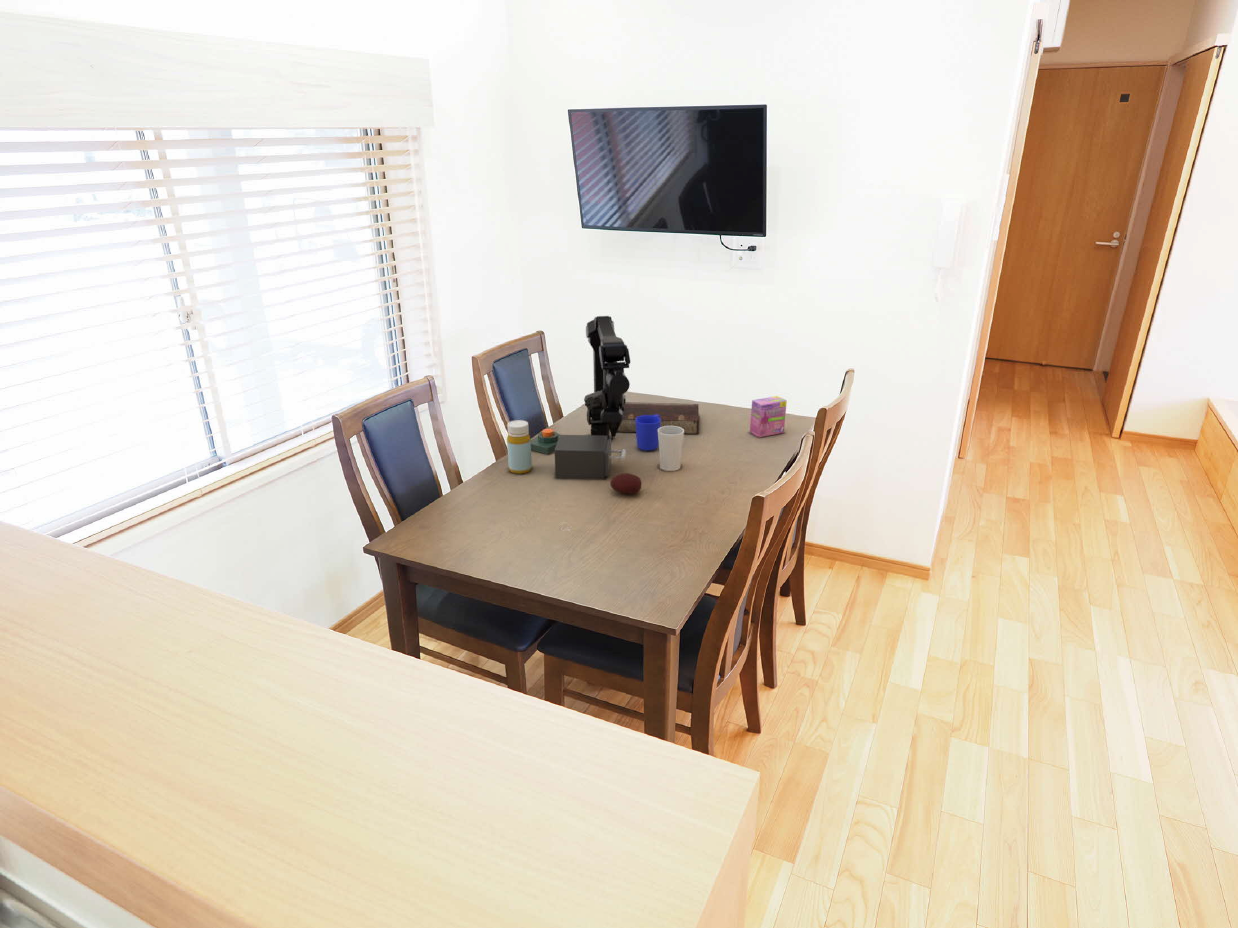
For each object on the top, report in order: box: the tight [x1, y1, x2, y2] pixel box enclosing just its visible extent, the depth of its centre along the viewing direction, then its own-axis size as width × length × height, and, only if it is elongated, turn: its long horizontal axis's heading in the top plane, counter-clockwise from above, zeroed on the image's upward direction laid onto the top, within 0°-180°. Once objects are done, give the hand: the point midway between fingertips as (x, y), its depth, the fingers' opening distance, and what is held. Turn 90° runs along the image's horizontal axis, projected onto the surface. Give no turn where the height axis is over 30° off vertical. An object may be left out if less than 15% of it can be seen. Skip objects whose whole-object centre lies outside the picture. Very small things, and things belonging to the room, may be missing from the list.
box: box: [749, 395, 788, 438], centre depth 265 cm, size 10×6×12 cm, turn 114°
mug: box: [635, 415, 661, 452], centre depth 255 cm, size 8×12×10 cm
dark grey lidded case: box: [553, 434, 607, 480], centre depth 237 cm, size 15×13×9 cm
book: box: [617, 401, 700, 434], centre depth 275 cm, size 29×19×5 cm, turn 85°
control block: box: [531, 430, 562, 455], centre depth 257 cm, size 12×9×4 cm
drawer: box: [604, 439, 627, 477], centre depth 237 cm, size 18×11×7 cm, turn 86°
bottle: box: [506, 419, 533, 475], centre depth 237 cm, size 7×7×15 cm
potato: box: [610, 472, 643, 495], centre depth 223 cm, size 8×9×6 cm
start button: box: [541, 428, 555, 437], centre depth 256 cm, size 4×4×2 cm
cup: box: [658, 426, 685, 472], centre depth 239 cm, size 8×8×12 cm
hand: (613, 434), depth 234 cm, fingers open, 4 cm apart
